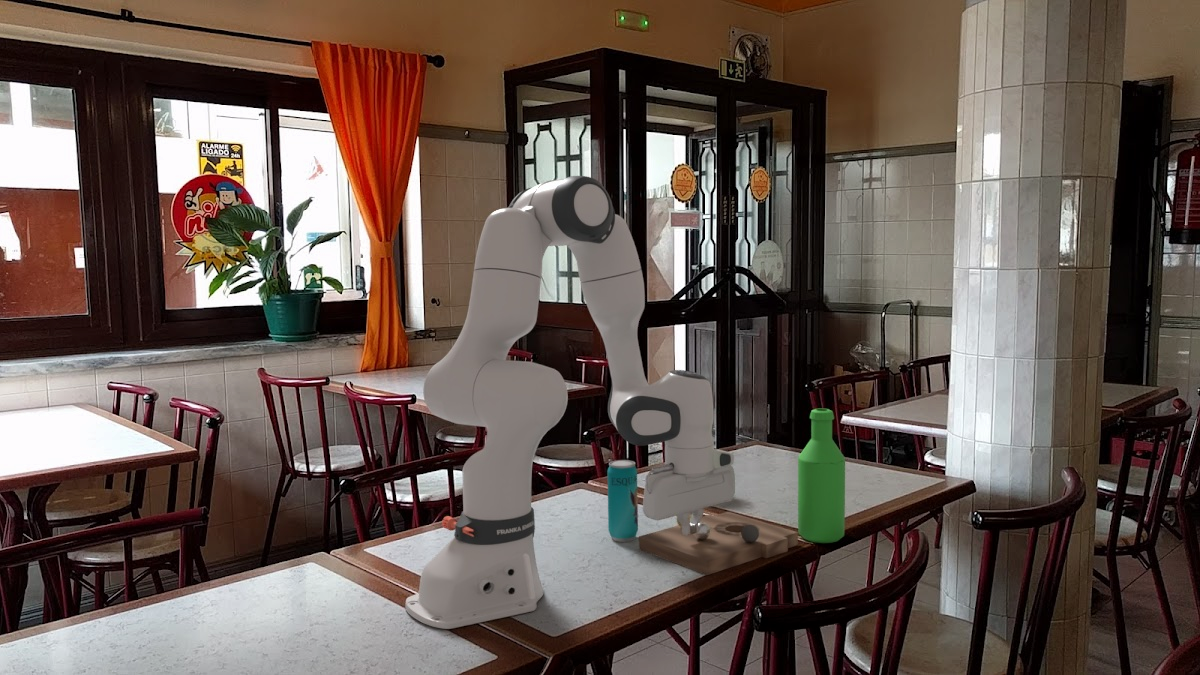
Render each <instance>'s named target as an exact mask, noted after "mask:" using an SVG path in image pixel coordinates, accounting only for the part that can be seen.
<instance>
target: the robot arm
mask: <svg viewBox="0 0 1200 675" xmlns="http://www.w3.org/2000/svg"><path fill="white" fill-rule="evenodd" d="M555 246H556V247H564V246H566V247H567V248H568V249H570V251H571V253H572V255H573V256H574V258H575V261H576V264H577V265H576V266H577V272H578V277H579V282H580V287H581V291H582V295H583V298H584V300H585V301H584V302H585V303H586V306H587V309H588V311H589V314H590V316H591V318H592V320H593V322H594V323H595V326H596V327H597V329H598V332H599V333H600V336H601V338H602V341H603V344H604V348H605V354H606V360H607V364H608V369H609V374H610V378H611V379H610V380H611V388H610V393H609V397H608V401H607V413H608V419H609V420H610V422H611V423H612V425H613V426H614V427H615V428H616V431H617V432H618V433H619V435H620V436H621V438H622V439H624V440H625V441H626V443H629V444H632V445H635V446H639V447H640V446H649V445H655V444H656V445H657V444H659V443H663V442H664V459H665V460H664V463H665V464H662V465H659V466H654V467H652V468H651V470H650V471H649V472H648V473H647V474H646V476H645V484H644V488H643V489H644V490H643V498H642V499H643V500H642V512H643V514H644V516H645V517H646V518H648V519H651V520H654V521H661V520H666V519H670V518H673V517H676V519H677V518H678V520H679V522H680V524H681V525H682V534H684V535H686V536H688V535H691V534H694V533H698V531H699V522H700V520H701V518H702V517H703V516H704V509H706V508H709V507H713V506H716V505H720V504H724V503H727V502H730V501H732V500H733V499H734V496H735V493H736V475H735V474H736V473H735V468H734V467H733V464H734V463H735V455H734V453H733V452H730V451H725V450H722V449H718V448H716V447H715V441H714V437H713V433H712V427H713V423H714V420H715V418H714V412H715V411H714V399H713V398H714V396H713V389H712V385H711V383H710V381H709V380H708V378H706V377H705V376H704V375H702V374H700V373H698V372H694V371H689V370H683V369H674V370H670V371H668V373H667V374H665V375H664V376H663V377H661V378H659V379H658V380H657V381H655V382H653V383H651V384H650V383H649V382H648V381H647V378H646V376H645V371H644V367H643V361H642V356H641V350H640V346H639V339H638V329H639V328H638V327H639V323H640V322H639V321H640V319H641V317H642V315H643V312H644V310H645V306H646V305H645V303H646V302H645V301H646V300H645V299H646V298H645V297H646V295H645V282H644V277H643V270H642V266H641V262H640V259H639V258H640V257H639V254H638V251H637V247H636V245H635V241H634V239H633V236H632V234H631V231H630V229H629V226H628V224H627V222H626V220H625V219H624V218H623V217H622V216H620V215H619V214H616V211H615V208H614V206H613V202H612V199H611V197H610V194H609V193H608V191H607V189H606V188H605V186H603V185H602V183H601V182H600V181H599V180H597V179H595V178H594V177H592V176H586V175H585V176H584V175H571V176H568V177H565V178H560V179H552V180H547V181H544V182H541V183H540V184H537V185H535V186H533V187H528V188H526V189H524V190H522V191H521V192H519V193H518V194H517V195H516V196H515V197H514V198H513V199H512V201H511V202H510V204H509V206H508V207H503V208H500V209H497V210H494V211H493V212H492V213H490V214H489V215H488V216H487V218H486V220H485V222H484V225H483V227H482V230H481V234H480V238H479V241H478V246H477V250H476V255H475V261H474V268H473V275H472V281H471V282H472V283H471V289H470V290H471V291H470V296H469V298H470V299H469V303H468V309H467V315H466V318H465V322H464V324H463V326H462V329H461V331H460V333H459V335H458V337H457V339H456V341H455V343H453V346H452V347H451V349H450V350H448V353H447V354H446V355H445V356H444V357H442V358H441V360H439V361H437V363H435V364H434V365H432V367H431V368H430V370H429V371H428V372H427V374H426V376H425V379H424V383H423V389H422V390H423V399H424V402H425V405H426V407H427V409H428V410H429V413H431V414H432V415H433V416H435V417H438V418H440V419H442V420H444V421H448V422H451V423H454V424H456V425H466V426H475V427H484V428H486V430H487V431H486V439H485V440H486V441H485V443H484V446H483V448H482V449H480V450H478V451H477V452H475V453H474V454H472V455H471V456H470V457H469V458H468V459H467V460H466V461H465V463H464V465H463V467H462V472H461V474H462V505H463V506H462V507H463V508H462V509H463V511H461V513H460V516H459V518H458V519H456V518H453V517H452V516H449V515H446V516H444V517H443V519H442V520H441V524H442V525H441V526H442V528H444V529H446V530H448V531H454V534H453V535H454V536H453V538H451V540H450V541H449V542H448V543H447V544H446V545H445V546H444V547H443V548H442V549H441V550H440V551H439V552H438V553H436V554H435V556H434V557H433V558H432V559H431V560H430V561H428V562H427V563H426V564H425V565H424V567H423V569H422V572H421V575H420V581H419V586H418V587H419V589H418V593H416V594H413V595H410V596H408V597H407V598H406V599H405V604H404V605H405V606H404V607H405V610H406V612H407V613H408V614H409V615H410V617H412V618H414V619H416V620H417V621H418V622H421V623H423V624H424V625H427V626H429V627H433V628H438V629H444V630H450V629H456V628H461V627H464V626H470V625H474V624H475V625H476V624H479V623H483V622H488V621H493V620H497V619H502V618H507V617H512V616H516V615H522V614H526V613H529V612H530V613H531V612H534V611H535V610H536V609H537V608H538V605H537V604H538V601H539V600H541V598H542V597H543V596H544V592H545V591H544V587H543V585H542V581H541V578H540V574H539V570H538V566H537V559H536V552H535V545H534V536H535V530H536V526H535V520H536V519H535V510H534V508H533V507H532V470H533V461H534V457H535V455H536V452H537V449H538V447H539V444H540V443H541V441H542V439H543V437H544V436H545V435H546V434H547V432H548V431H550V430H551V429H552V428H554V427H555V426H556V425H557V424H558V423H559V422H560V420H561V419H562V418H563V416H564V414H565V412H566V409H567V406H568V400H569V398H568V397H569V396H568V394H569V393H568V389H567V388H568V387H567V384H566V381H565V379H564V377H563V376H562V374H561V373H560V371H558V370H556V369H555V368H552V367H549V366H546V365H544V364H539V363H537V362H534V361H522V360H507V357H508V354H509V351H510V349H511V348H512V347H513V345H514V344H515V342H517V341H518V340H519V339H520V338H522V337H524V336H525V335H527V334H529V333H530V332H531V331H532V330H533V329H534V327H535V326H536V323H537V321H538V320H537V318H538V312H539V310H538V309H539V304H540V303H539V300H540V293H541V286H542V285H541V283H542V274H543V273H542V272H543V258H544V256H545V254H546V250H547V249H548V247H555ZM690 514H691V518H690V521H689V520H688V518H689V517H690Z"/></svg>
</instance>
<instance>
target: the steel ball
mask: <svg viewBox="0 0 1200 675" xmlns="http://www.w3.org/2000/svg"><path fill="white" fill-rule="evenodd" d="M709 534H710V528H709V526H708V525H707V524H706V523H703V522H699V531H698V533H694V534H693V535H694V536H695V537H696V538H697V539H699V540H704V539H706V538H707V537H708V536H709Z"/></svg>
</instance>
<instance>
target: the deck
mask: <svg viewBox="0 0 1200 675" xmlns="http://www.w3.org/2000/svg"><path fill="white" fill-rule="evenodd" d="M700 522H703V523H706V524H707V525H708V526H709V528H710V534H709V536H708V537H707V538H706V539H704V540H699V539H697V538H696V537H695V536H694V535H693V534H691V535H688V536H686V535H684V534H682V528H681V527H680V526H679V525H678V524H677V525H675V526H671V527H668V528H664V529H661V530H658V531H654V532H650V533H646V534H643V535H640V536H638V549H639V551H643V552H645V553H647V554H650V555H653V556H656V557H659V558H661V559H664V560H666V561H669V562H672V563H674V564H677V565H679V566H683V567H685V568H688V569H690V570H692V571H696V572H698V573H701V574H703V575H706V576H709V575H713V574H716V573H718V572H721V571H723V570H724V571H725V570H727V569H731V568H733V567H736V566H740V565H742V564H745V563H748V562H751V561H754V560H757V559H761V558H765V559H768V558H771V557H774V556H778V555H780V554H784V553H787V552H789V551H788V550H789V549H790V548H793V547H796V546H798V543H799V542H798V540H799V539H798V538H799V533H798V531H794V530H791V529H789V528H785V527H782V526H779V525H775V524H771V523H767V522H764V521H760V520H758V519H755V518H751V517H747V516H744V515H740V514H737V513H734V512H730V511H726V512H722V513H718V514H715V515H714V514H706V515H703V516H702V518H701V520H700ZM746 525H753V526H755V527H756V528H757V529H758V531H759V537H758V539H757V540H756V541H754V542H751V543H749V542H746V541H745V540H744V539H743V538H742V536H741V531H742V529H743V527H744V526H746Z"/></svg>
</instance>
